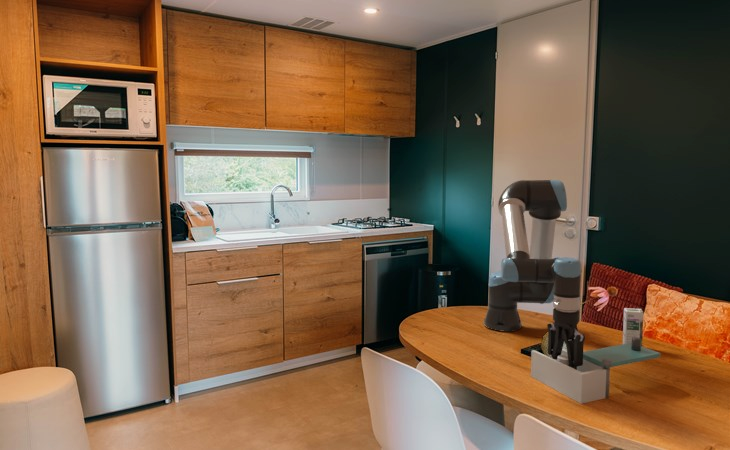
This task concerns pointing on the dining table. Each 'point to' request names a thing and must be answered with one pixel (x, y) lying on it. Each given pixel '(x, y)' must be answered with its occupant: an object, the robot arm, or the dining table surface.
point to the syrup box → (632, 325)
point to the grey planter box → (572, 377)
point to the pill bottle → (563, 359)
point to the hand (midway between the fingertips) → (563, 382)
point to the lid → (620, 354)
